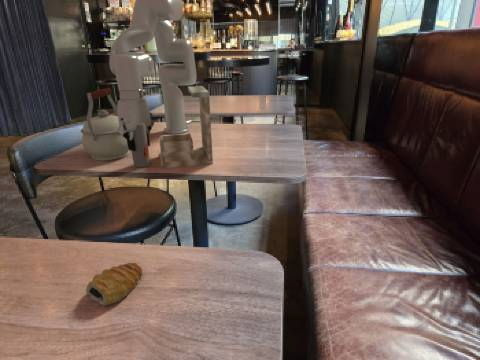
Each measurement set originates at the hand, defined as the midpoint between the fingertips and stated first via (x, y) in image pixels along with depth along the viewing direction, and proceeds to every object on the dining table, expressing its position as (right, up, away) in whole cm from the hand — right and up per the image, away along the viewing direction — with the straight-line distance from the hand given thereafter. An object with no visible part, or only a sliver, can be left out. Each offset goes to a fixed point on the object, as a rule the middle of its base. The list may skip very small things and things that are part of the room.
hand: (139, 147), depth 110 cm
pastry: (+13, -31, -55) cm, 64 cm away
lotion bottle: (0, -6, +3) cm, 7 cm away
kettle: (-16, -1, +16) cm, 22 cm away
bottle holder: (+15, -3, +9) cm, 17 cm away
